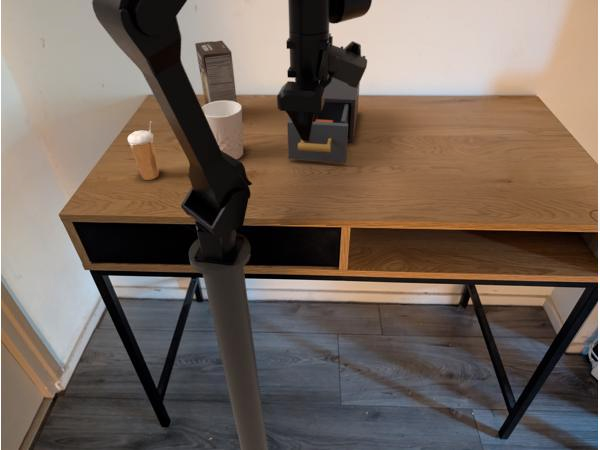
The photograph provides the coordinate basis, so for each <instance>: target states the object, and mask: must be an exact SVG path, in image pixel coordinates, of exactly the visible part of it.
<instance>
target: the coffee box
mask: <svg viewBox="0 0 600 450" xmlns="http://www.w3.org/2000/svg"><path fill="white" fill-rule="evenodd" d="M194 45H195V50H196V57H197V62H198V63H197V64H198V69H199V75H200V81H201V87H202V92H203V98H204V105H206V104H208V103H211V102H215V101H234V102H237V91H236V82H235V72H234V63H233V56H232V55H233V54H232V50H230V48H229V47H228V46H227V44H225V42H224V41H223V40H216V41H201V42H196V43H194ZM237 103H238V102H237Z"/></svg>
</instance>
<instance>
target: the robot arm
mask: <svg viewBox="0 0 600 450" xmlns="http://www.w3.org/2000/svg"><path fill="white" fill-rule="evenodd" d="M287 1H288V2H287V3H288V5H287V7H288V36H289V37H288V38H287V40H286V49H287V50H289V67H288V68H287V70H286V72H287V73H286V74H287V78H289V79H290V78H292V79H294V80H293V81H292V80H291V81H290V80H287V82H285V84H283V86H281V88H280V90H279V91H278V93H277V96H276V103H277V104H276V105H277V110H279V112H280V111H281V112H286V114H287V115H288V117H289V118H290V119H289V120H292V122H293V124H294V126H295V128H296V130H297V132H298V134H299V135H300V137H301V139H302V141H309V139H310V134H311V129H312V124H313V122H315V121H316V117H317V113H318V112H321V111H322V108H323V106H324V103H325V101H324V98H325V89H324V88H325V87H326V86H327V85H329V84H330V83H331V81H332V78H335V79H338V80H340V81H342V82H345V83H347V84H348V85H349V86H351V87H355V88H356V87H358V85H359V83H360V84H361V81H362V77H363V76H364V74H365V71H366V69H367V66H368V59H367V58H366V56H365V55H362V46H361V44H360V43H359V42H356V41H353V40H351V41H350V42H349V43H348V44H347V45H346V46H345V47H344V46H342V45H341V46H337V45H334V44H333V41H334V40H333V39H334V37H333V36H332V33H330V24H333V25H334V24H339V23H343V22H347V21H350V20H354V19H358V18H362V17H363V16H365V15H366V14H368V12H369V10H371V9H370V8H371V6H372V2H373V0H287ZM187 2H188V0H92V1H91V5H92V11H93V12H94V16H95V17H96V20H97V21H98V22H99V24H100V25H101V26H102V27H103V29H104V30H105V31H106V33H107V34H108V36H109V37H110V38H111V39H112V40H113V42H114V43H115V44H116V46H117V47H118V48H119V49H120V50H121V51H122V52H123V54H125V55H126V57H128V58H129V60H130V61H131V62H132V63H133V64H134V65H135V66H136V67H137V68H138V69H139V70H140V72H141V73H142V76H143V78H144V79H145V81H146V83H147V85H148V87H149V88H150V91H151V92H152V94H153V96H154V98H155V100H156V102H157V103H158V106H159V107H160V110H161V111H162V113H163V115H164V117H165V119H166V120H167V123H168V125H169V126H170V128H171V130H172V132H173V134H174V136H175V138H176V140H177V141H178V143H179V145H180V147H181V149H182V151H183V153H184V155H185V156H186V158H187V161H188V164H189V169H188V178H189V182H190V184H191V187H190V189H189V190H188V193H186V196H185V198H184V199H183V201H182V203H181V204H180V208H181V209H182V211H184V213H185V214H186V215H187V216H188V217H190V218H192V219H193V220H194V222H195V223H194V224H195V228H196V233H197V237H198V238H199V243H200V246H199V248H198V250H197V252H196V254H195V256H194V261H196V262H204V263H213V264H221V265H234V263H235V261H236V258H237V256H238V254H239V251H240V249H241V246H242V244H243V242H244V237H245V236H244V237H241V236H236V233H235V232H236V230H238V229H239V228H241V227H244V223H245V219H246V213H247V209H248V203H249V200H250V198H251V194H252V193H251V189H250V187H249V186H252V185H253V183H252V181H250V179H249V178H248V176H247V172H246V168H245V165H244V164H243V162H242V161H240V160H239V159H235V158H233V157H231V156H230V155H228V154H226V153H225V152H223V151H221V150H220V148H219V145H218V143H217V141H216V139H215V137H214V134H213V132H212V130H211V128H210V125H209V123H208V121H207V119H206V116H205V114H204V112H203V110H202V107H203V106H202V105H201V103H200V100H199V98H198V95H197V94H196V91H195V90H194V87H193V85H192V82H191V81H190V78H189V76H188V74H187V72H186V69H185V67H184V64H183V62H182V38H183V37H182V33H181V29H180V25H179V21H178V17H177V16H178V15H179V13H180V12H181V10H182V9H183V7H184V6H185V5H186V3H187ZM198 238H197V239H198ZM230 262H231V263H230Z"/></svg>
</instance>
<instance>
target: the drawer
mask: <svg viewBox="0 0 600 450" xmlns="http://www.w3.org/2000/svg"><path fill="white" fill-rule="evenodd" d="M349 109H350V103H337V102H325V103H324V106H323V108H322V111H321V112H318V113H317V117H316V119H320V120H333V123H331V122H313V124H312V129H311V134H310V139H309V141H302V139H301V137H300V135H299V134H298V132H297V130H296V128H295V126H294V124H293V122H292V120H291V119H288V120H287V122H286V127H287V129H286V130H287V152H288V153H287V154H288V155H287V157H288V159H289V160H299V161H313V162H326V163H338V164H346V163H347V155H348V142H347V139H348V125H349Z"/></svg>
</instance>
